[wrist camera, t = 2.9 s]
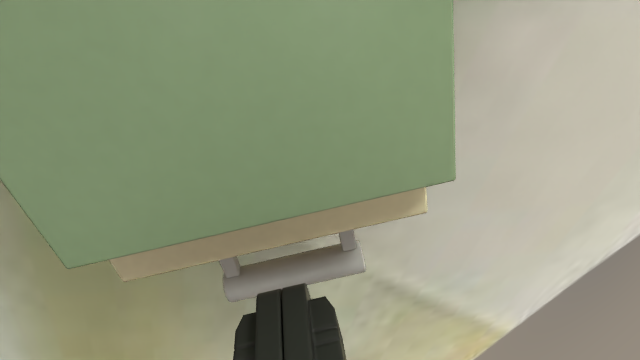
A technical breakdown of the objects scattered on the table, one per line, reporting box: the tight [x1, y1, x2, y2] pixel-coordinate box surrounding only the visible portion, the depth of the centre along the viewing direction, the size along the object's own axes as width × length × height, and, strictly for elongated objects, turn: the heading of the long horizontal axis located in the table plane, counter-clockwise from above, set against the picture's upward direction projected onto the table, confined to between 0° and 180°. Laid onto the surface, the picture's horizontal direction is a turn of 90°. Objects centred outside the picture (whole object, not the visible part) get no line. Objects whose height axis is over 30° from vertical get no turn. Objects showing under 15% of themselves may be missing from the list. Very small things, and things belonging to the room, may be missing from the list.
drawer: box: [109, 187, 427, 302], centre depth 14 cm, size 17×10×7 cm, turn 11°
